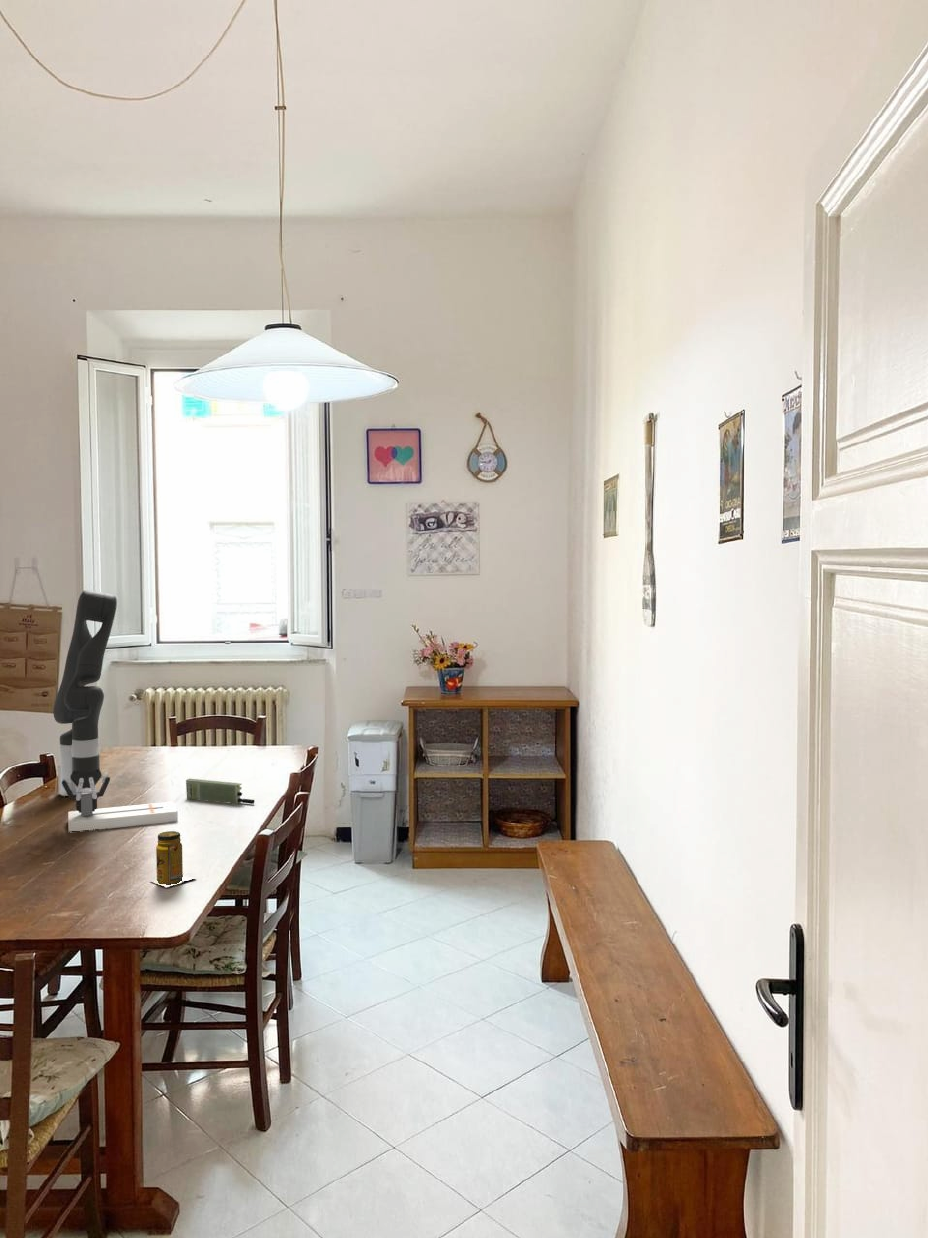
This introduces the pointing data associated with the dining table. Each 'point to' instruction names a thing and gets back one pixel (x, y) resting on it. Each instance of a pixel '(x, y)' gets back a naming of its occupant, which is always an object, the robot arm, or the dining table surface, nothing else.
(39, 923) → the dining table surface
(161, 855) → the condiment
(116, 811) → the console
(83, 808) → the block
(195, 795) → the handheld radio
